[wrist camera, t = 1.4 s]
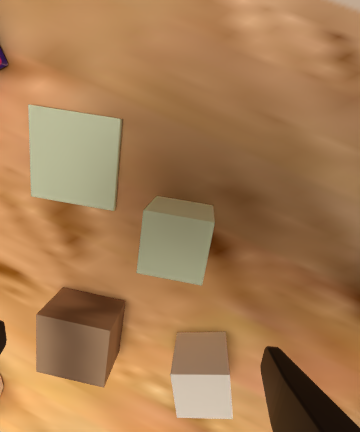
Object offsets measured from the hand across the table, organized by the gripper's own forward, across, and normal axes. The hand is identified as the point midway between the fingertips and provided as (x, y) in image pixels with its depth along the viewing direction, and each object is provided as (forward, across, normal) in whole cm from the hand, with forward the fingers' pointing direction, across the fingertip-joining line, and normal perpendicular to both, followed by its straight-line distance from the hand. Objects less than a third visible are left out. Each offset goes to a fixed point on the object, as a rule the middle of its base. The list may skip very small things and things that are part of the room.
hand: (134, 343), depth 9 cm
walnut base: (+13, +6, +11) cm, 18 cm away
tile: (+13, +7, -4) cm, 16 cm away
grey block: (+12, -5, +12) cm, 18 cm away
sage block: (+12, -1, 0) cm, 12 cm away
